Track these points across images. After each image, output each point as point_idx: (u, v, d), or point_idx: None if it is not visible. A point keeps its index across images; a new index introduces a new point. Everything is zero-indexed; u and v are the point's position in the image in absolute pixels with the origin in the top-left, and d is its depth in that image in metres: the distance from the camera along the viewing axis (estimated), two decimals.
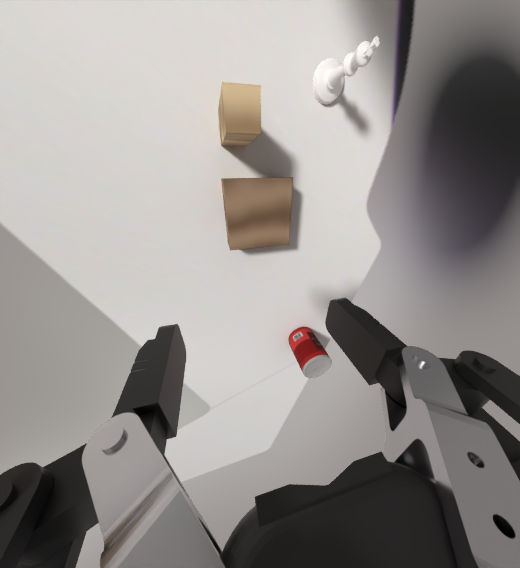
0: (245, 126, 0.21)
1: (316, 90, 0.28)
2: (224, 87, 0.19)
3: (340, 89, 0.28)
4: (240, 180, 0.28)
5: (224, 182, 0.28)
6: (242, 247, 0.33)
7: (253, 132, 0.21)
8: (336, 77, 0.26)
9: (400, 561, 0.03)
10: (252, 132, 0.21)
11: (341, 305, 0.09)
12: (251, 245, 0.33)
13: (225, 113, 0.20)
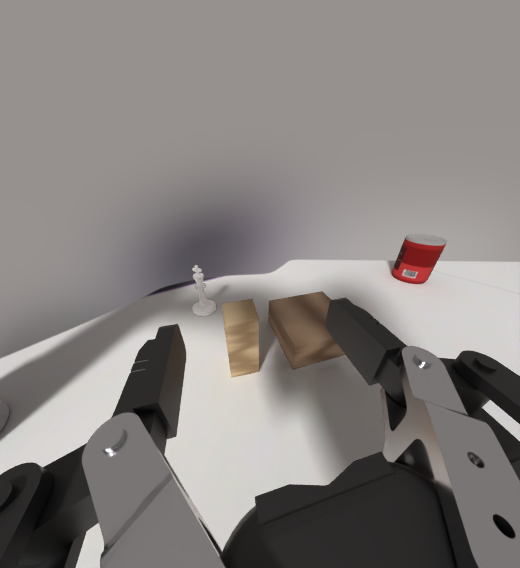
0: (250, 307, 0.23)
1: (209, 311, 0.38)
2: (227, 322, 0.21)
3: (208, 299, 0.41)
4: (289, 333, 0.27)
5: (298, 345, 0.25)
6: None
7: (252, 303, 0.24)
8: (204, 296, 0.37)
9: (400, 561, 0.03)
10: (252, 303, 0.24)
11: (341, 305, 0.09)
12: None
13: (244, 320, 0.21)
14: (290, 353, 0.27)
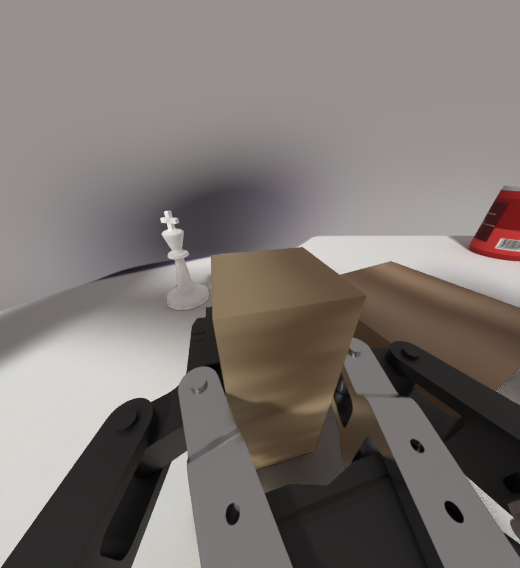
0: (308, 264, 0.07)
1: (196, 301, 0.21)
2: (228, 312, 0.04)
3: (195, 283, 0.24)
4: None
5: None
6: (510, 306, 0.13)
7: (309, 254, 0.08)
8: (186, 275, 0.21)
9: None
10: (310, 255, 0.07)
11: None
12: (477, 295, 0.14)
13: (308, 304, 0.05)
14: None
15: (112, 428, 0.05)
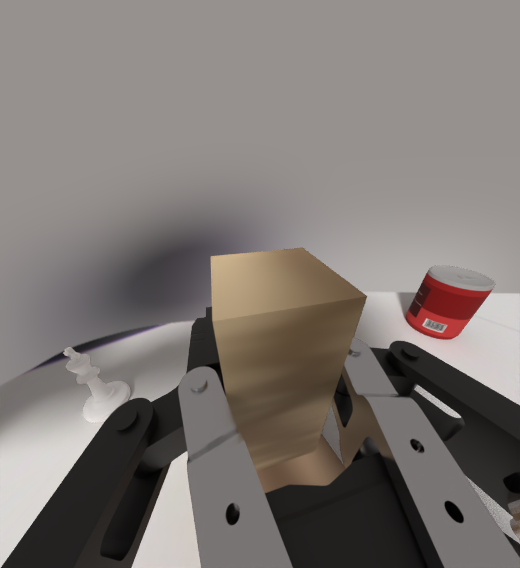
0: (308, 265, 0.07)
1: (109, 412, 0.22)
2: (228, 313, 0.04)
3: (119, 382, 0.25)
4: None
5: None
6: (342, 470, 0.15)
7: (309, 254, 0.08)
8: (99, 389, 0.22)
9: None
10: (311, 256, 0.07)
11: None
12: (325, 449, 0.16)
13: (308, 305, 0.05)
14: None
15: (112, 428, 0.05)
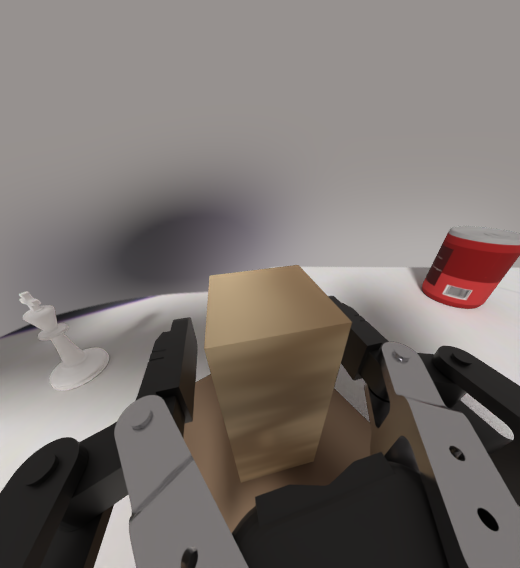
0: (300, 285, 0.07)
1: (80, 379, 0.19)
2: (219, 340, 0.05)
3: (96, 348, 0.22)
4: None
5: None
6: (364, 423, 0.12)
7: (303, 273, 0.08)
8: (68, 351, 0.19)
9: None
10: (304, 275, 0.08)
11: None
12: (340, 402, 0.13)
13: (294, 331, 0.05)
14: None
15: (20, 485, 0.04)
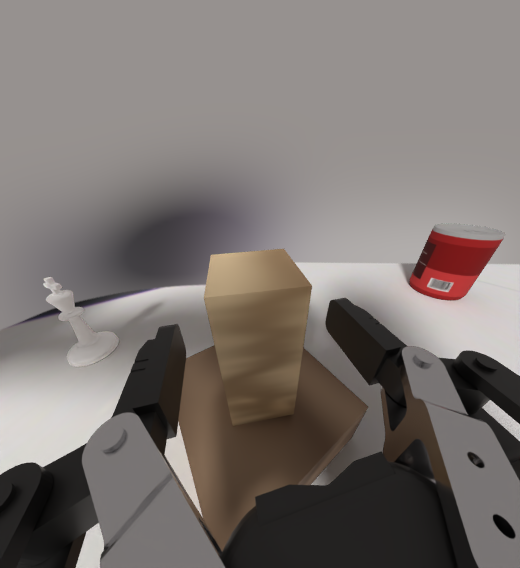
0: (281, 263, 0.09)
1: (94, 357, 0.21)
2: (214, 293, 0.07)
3: (107, 332, 0.24)
4: (201, 489, 0.09)
5: None
6: (338, 383, 0.14)
7: (286, 254, 0.10)
8: (84, 332, 0.21)
9: (400, 561, 0.03)
10: (287, 256, 0.10)
11: (341, 305, 0.09)
12: (319, 368, 0.15)
13: (269, 290, 0.07)
14: None
15: None
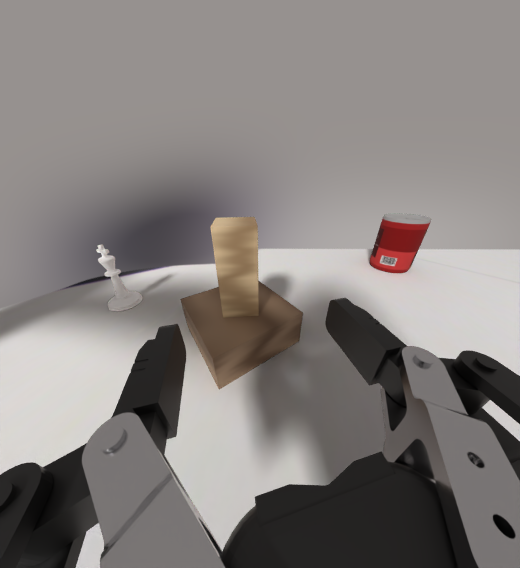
0: (249, 220, 0.18)
1: (127, 305, 0.30)
2: (215, 226, 0.16)
3: (133, 291, 0.33)
4: (205, 339, 0.18)
5: (217, 355, 0.17)
6: (288, 304, 0.23)
7: (253, 218, 0.19)
8: (120, 286, 0.29)
9: (400, 561, 0.03)
10: (254, 218, 0.19)
11: (341, 305, 0.09)
12: (278, 298, 0.24)
13: (238, 226, 0.16)
14: (212, 367, 0.18)
15: None
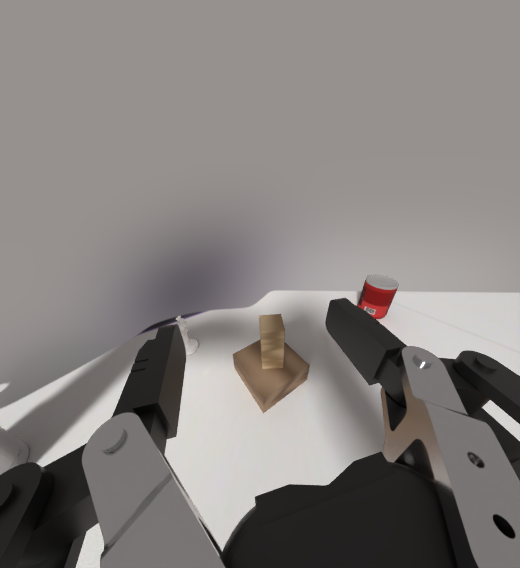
0: (279, 320, 0.33)
1: (192, 351, 0.44)
2: (262, 330, 0.31)
3: (191, 338, 0.48)
4: (256, 385, 0.33)
5: (265, 396, 0.31)
6: (300, 358, 0.38)
7: (281, 317, 0.33)
8: (187, 339, 0.44)
9: (400, 561, 0.03)
10: (281, 317, 0.33)
11: (341, 305, 0.09)
12: (293, 353, 0.39)
13: (274, 330, 0.31)
14: (260, 401, 0.33)
15: None
